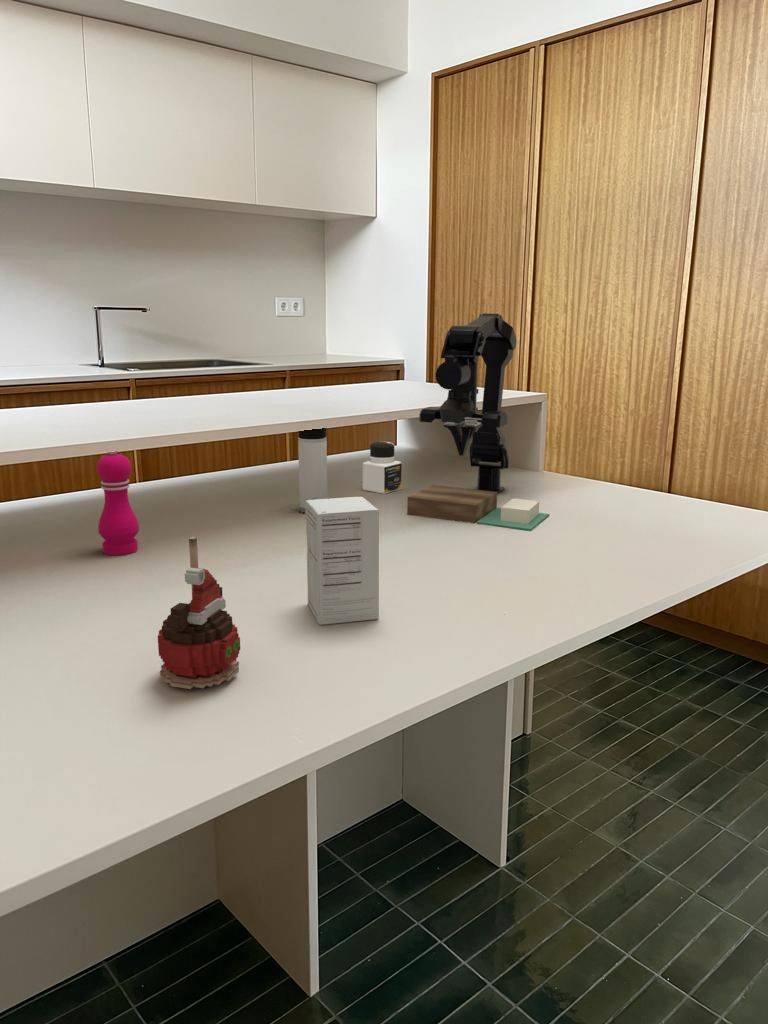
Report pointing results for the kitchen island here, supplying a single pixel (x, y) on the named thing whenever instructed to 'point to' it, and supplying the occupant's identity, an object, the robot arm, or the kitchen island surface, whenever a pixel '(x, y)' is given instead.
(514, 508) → the block
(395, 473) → the medicine bottle
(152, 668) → the kitchen island surface
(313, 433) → the travel mug
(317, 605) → the supplement box
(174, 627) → the cake
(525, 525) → the mat
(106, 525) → the pepper mill
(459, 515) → the deck
